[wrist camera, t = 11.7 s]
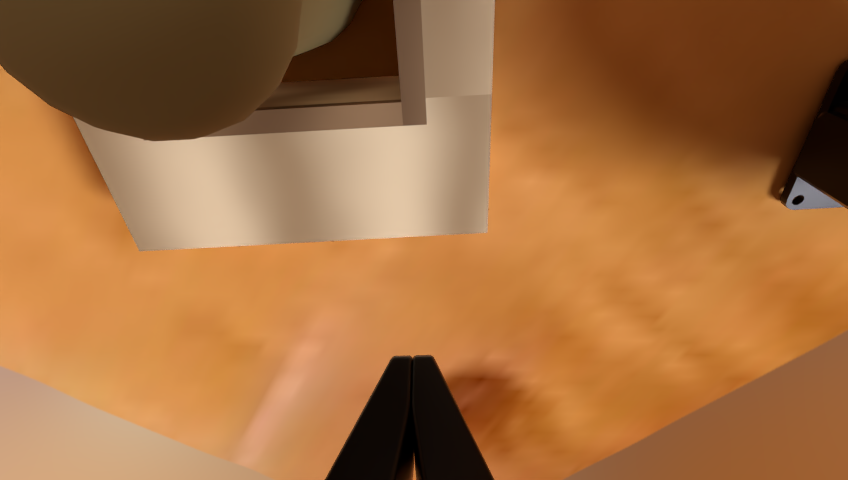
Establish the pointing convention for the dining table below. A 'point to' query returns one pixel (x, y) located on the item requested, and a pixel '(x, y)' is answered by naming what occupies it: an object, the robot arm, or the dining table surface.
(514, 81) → the dining table surface
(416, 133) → the socket board
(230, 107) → the olive tall rounded piece
